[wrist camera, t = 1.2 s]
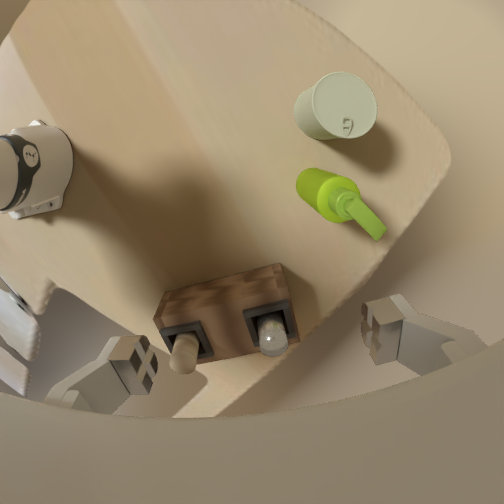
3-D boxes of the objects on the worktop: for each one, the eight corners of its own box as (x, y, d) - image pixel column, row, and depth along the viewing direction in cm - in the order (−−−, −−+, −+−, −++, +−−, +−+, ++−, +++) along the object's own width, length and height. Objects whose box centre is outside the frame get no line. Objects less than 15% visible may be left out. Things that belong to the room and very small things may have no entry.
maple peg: (183, 344, 48) (175, 375, 40) (174, 327, 46) (165, 357, 39) (203, 340, 47) (199, 372, 40) (195, 322, 46) (189, 353, 39)
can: (293, 138, 43) (312, 136, 32) (293, 85, 40) (311, 66, 29) (347, 142, 43) (379, 142, 32) (346, 90, 40) (378, 76, 29)
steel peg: (259, 327, 47) (263, 359, 40) (253, 308, 46) (256, 339, 38) (283, 321, 47) (290, 352, 39) (277, 302, 45) (285, 332, 38)
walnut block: (185, 337, 56) (178, 371, 46) (164, 292, 52) (151, 322, 42) (291, 312, 54) (301, 345, 45) (279, 262, 51) (288, 289, 41)
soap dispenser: (318, 213, 48) (366, 257, 29) (288, 187, 46) (323, 216, 27) (340, 187, 46) (401, 216, 28) (311, 160, 44) (361, 172, 26)
